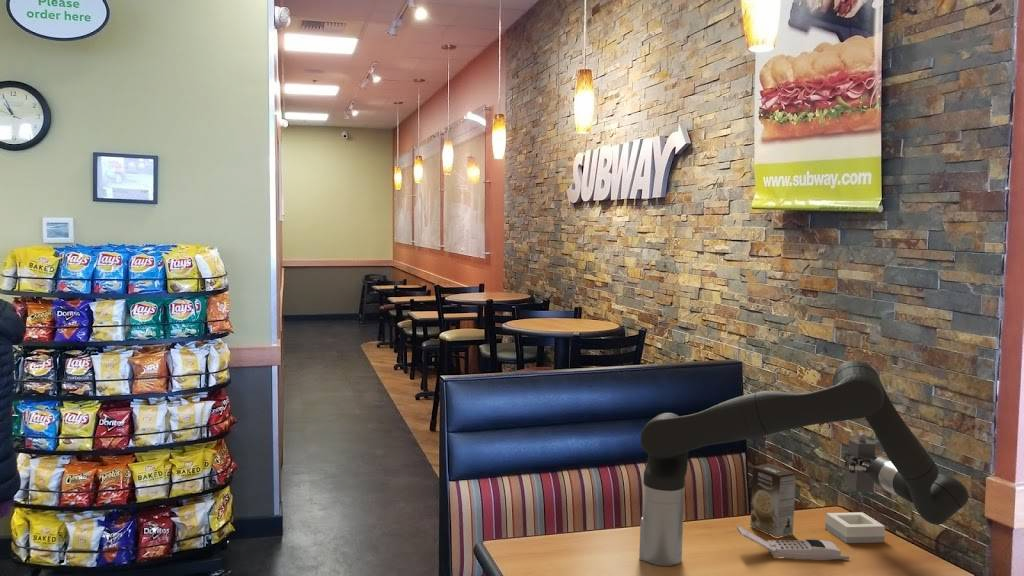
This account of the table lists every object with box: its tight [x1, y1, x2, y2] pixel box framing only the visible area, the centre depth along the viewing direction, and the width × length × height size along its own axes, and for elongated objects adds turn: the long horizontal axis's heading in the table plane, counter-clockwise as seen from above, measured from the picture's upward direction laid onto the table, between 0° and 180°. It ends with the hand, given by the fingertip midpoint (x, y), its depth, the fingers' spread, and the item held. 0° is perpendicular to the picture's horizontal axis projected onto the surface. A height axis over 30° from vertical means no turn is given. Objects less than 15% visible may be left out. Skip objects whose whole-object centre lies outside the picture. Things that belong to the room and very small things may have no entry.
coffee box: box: [749, 463, 797, 537], centre depth 201 cm, size 9×6×16 cm
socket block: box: [824, 511, 886, 544], centre depth 199 cm, size 10×10×4 cm
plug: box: [845, 432, 877, 493], centre depth 197 cm, size 4×4×14 cm
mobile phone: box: [736, 524, 850, 561], centre depth 186 cm, size 6×6×25 cm
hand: (855, 456), depth 200 cm, fingers closed on plug, 4 cm apart
